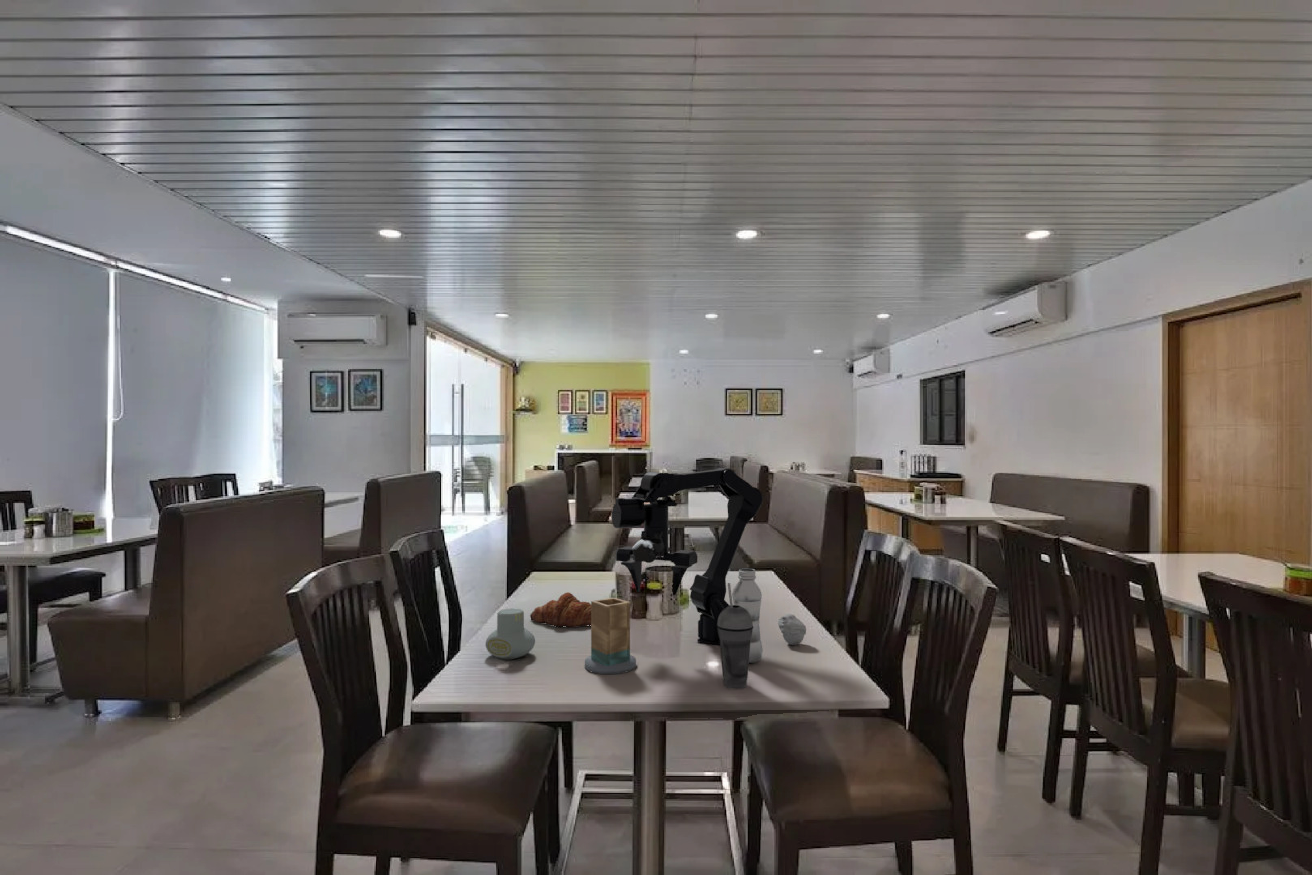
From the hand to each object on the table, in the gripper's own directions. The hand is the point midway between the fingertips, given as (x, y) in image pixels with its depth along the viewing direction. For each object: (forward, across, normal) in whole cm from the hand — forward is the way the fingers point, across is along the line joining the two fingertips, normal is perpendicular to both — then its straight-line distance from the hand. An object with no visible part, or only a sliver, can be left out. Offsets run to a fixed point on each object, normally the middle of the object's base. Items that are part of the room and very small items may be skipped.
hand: (656, 593), depth 156 cm
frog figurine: (+13, +28, +17) cm, 35 cm away
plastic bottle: (+13, +22, 0) cm, 26 cm away
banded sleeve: (+12, -4, -15) cm, 19 cm away
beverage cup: (+13, +24, -15) cm, 31 cm away
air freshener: (+13, -28, -18) cm, 36 cm away
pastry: (+14, -32, +12) cm, 36 cm away
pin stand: (+13, -4, -15) cm, 20 cm away
